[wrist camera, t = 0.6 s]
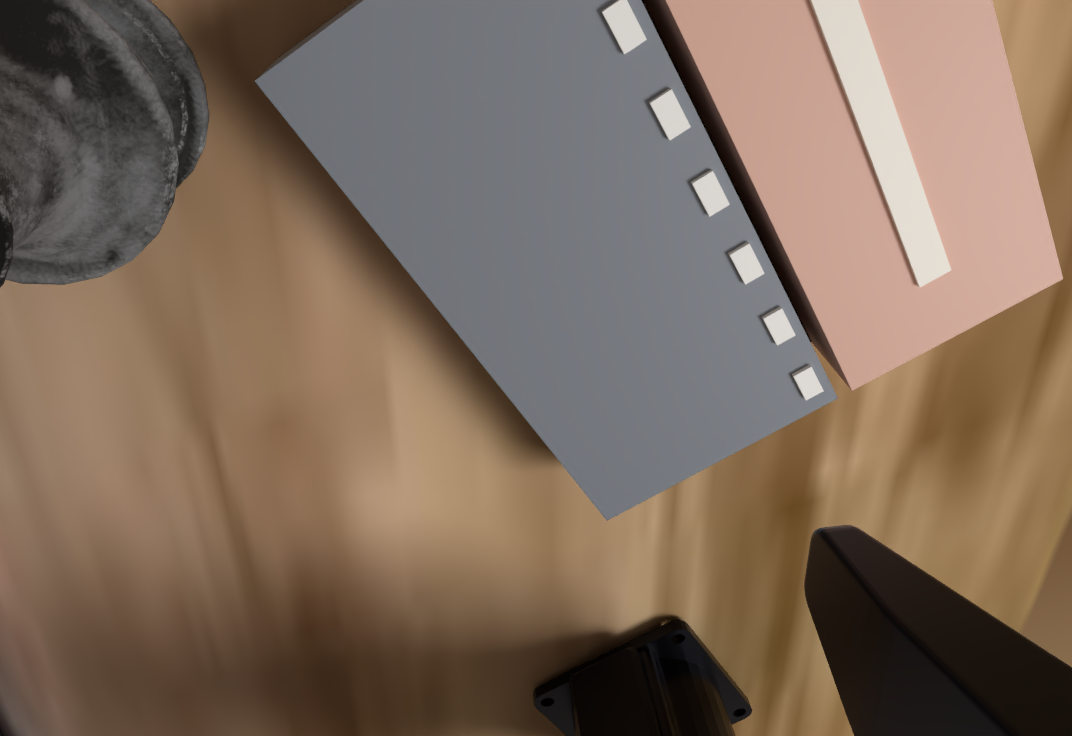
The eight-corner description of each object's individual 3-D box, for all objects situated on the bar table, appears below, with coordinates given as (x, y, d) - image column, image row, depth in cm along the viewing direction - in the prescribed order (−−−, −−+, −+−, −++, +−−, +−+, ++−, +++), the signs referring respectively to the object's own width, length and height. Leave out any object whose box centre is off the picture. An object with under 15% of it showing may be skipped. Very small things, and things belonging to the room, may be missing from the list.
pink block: (1000, 240, 21) (1066, 281, 19) (812, 343, 22) (854, 393, 20) (825, -349, 14) (896, -395, 12) (567, -157, 15) (588, -166, 13)
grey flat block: (800, 350, 22) (839, 401, 20) (591, 464, 24) (607, 523, 21) (549, -144, 15) (568, -151, 13) (278, 57, 17) (253, 82, 15)
